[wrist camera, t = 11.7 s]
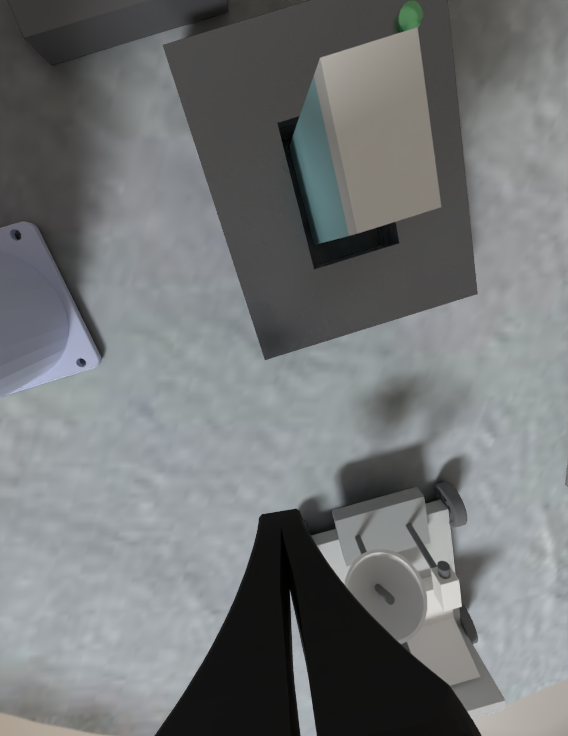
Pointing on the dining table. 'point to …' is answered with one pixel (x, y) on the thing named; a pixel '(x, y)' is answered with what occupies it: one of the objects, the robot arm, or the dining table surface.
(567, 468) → the graphics card
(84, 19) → the holster
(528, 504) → the dining table surface
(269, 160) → the port panel
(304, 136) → the plug
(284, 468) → the dining table surface
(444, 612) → the toy car
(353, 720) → the robot arm
